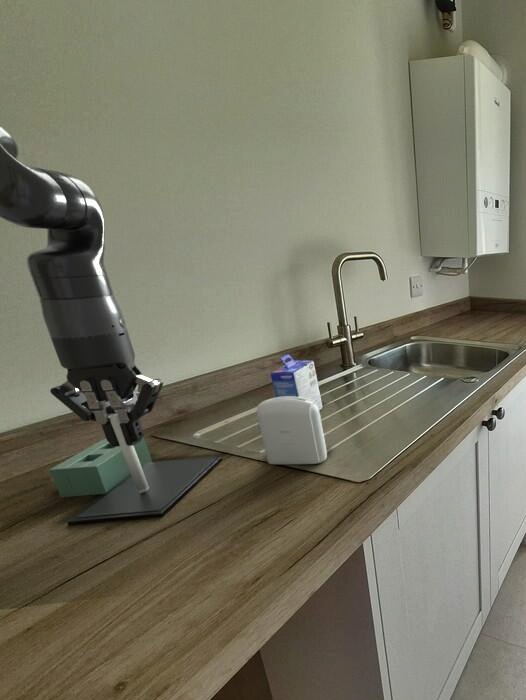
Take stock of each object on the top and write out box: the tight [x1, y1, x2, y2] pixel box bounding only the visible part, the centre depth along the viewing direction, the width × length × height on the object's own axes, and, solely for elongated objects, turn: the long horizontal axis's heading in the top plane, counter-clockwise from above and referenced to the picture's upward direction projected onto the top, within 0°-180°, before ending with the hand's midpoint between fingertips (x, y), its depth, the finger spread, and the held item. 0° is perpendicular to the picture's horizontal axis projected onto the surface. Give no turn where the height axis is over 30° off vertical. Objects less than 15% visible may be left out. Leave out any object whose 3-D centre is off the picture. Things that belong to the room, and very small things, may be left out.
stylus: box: [110, 414, 149, 493], centre depth 62 cm, size 1×1×13 cm
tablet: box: [66, 456, 223, 526], centre depth 66 cm, size 12×17×1 cm
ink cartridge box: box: [270, 353, 323, 411], centre depth 92 cm, size 10×6×14 cm, turn 2°
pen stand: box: [49, 436, 153, 498], centre depth 69 cm, size 6×11×5 cm, turn 9°
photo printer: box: [256, 396, 328, 465], centre depth 73 cm, size 10×4×12 cm, turn 90°
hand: (128, 443), depth 61 cm, fingers closed on stylus, 1 cm apart
